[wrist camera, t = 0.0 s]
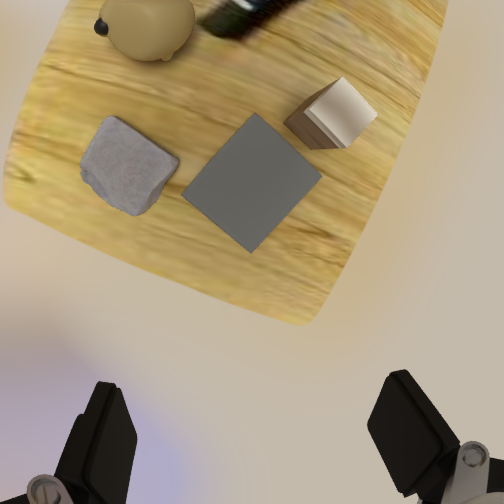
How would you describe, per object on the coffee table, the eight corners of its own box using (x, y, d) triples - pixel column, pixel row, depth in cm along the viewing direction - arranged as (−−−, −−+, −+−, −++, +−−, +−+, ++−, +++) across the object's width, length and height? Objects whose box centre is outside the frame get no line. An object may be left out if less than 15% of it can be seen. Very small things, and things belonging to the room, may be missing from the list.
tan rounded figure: (140, -2, 27) (119, -39, 17) (211, 23, 30) (208, -16, 20) (101, 52, 29) (67, 26, 19) (171, 80, 32) (153, 54, 22)
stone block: (149, 216, 39) (187, 156, 35) (136, 229, 35) (176, 162, 31) (87, 171, 36) (117, 110, 33) (68, 179, 32) (99, 111, 28)
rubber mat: (254, 113, 34) (255, 112, 34) (321, 176, 38) (322, 176, 37) (181, 194, 37) (180, 195, 36) (250, 252, 40) (251, 253, 40)
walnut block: (308, 97, 34) (342, 76, 23) (334, 124, 36) (378, 114, 24) (282, 123, 35) (309, 109, 24) (310, 149, 37) (347, 147, 25)
